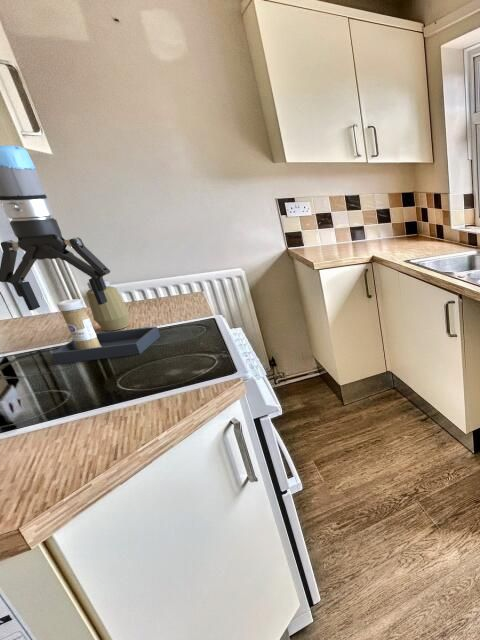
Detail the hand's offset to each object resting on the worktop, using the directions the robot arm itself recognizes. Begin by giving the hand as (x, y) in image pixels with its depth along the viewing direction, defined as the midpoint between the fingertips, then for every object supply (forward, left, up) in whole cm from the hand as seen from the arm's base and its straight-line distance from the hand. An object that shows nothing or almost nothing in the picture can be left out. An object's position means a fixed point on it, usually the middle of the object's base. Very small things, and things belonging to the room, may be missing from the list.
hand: (69, 306), depth 106 cm
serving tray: (+5, 0, -13) cm, 14 cm away
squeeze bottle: (-2, +20, -13) cm, 24 cm away
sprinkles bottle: (0, 0, -12) cm, 12 cm away
